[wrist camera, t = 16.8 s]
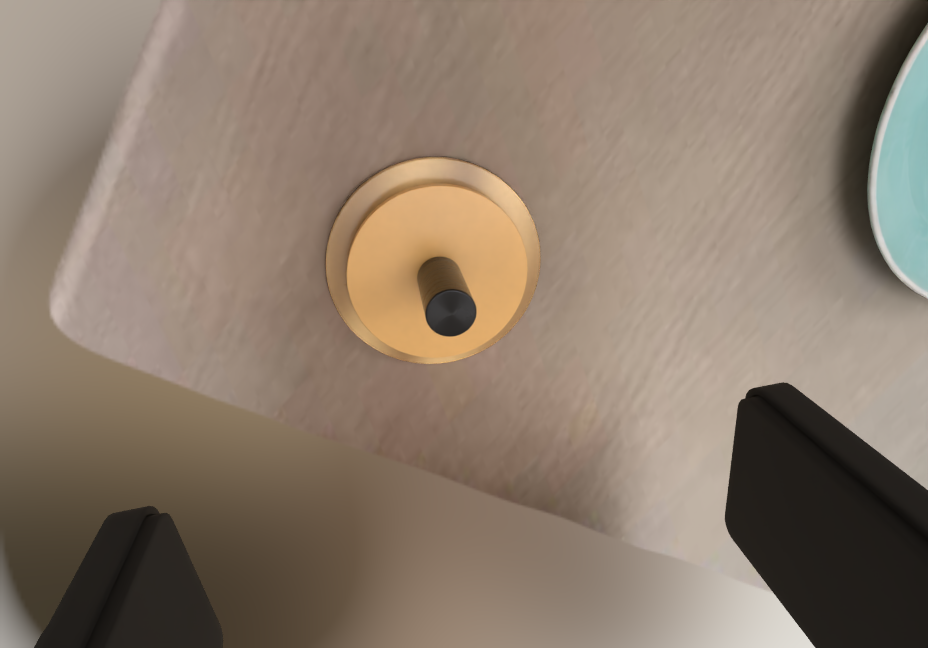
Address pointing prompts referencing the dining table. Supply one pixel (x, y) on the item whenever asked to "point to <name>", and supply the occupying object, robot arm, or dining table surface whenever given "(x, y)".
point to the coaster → (400, 180)
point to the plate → (903, 173)
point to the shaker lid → (436, 270)
